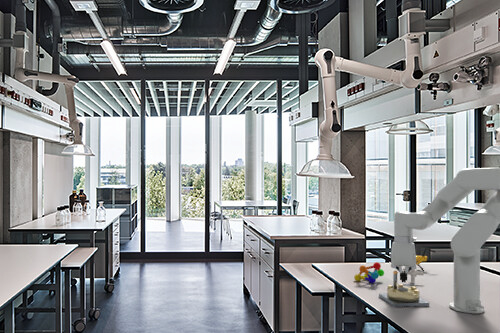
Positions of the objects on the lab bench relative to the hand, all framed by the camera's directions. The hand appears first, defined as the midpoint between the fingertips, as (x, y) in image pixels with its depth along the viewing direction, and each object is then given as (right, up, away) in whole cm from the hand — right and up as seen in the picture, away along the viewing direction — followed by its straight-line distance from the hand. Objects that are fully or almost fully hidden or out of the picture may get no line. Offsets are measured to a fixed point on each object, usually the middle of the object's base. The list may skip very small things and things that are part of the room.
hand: (403, 281), depth 186 cm
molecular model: (-6, -9, +29) cm, 31 cm away
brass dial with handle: (-2, -5, -4) cm, 7 cm away
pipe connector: (+15, -9, +29) cm, 34 cm away
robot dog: (+31, -10, +61) cm, 69 cm away
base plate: (-2, -7, -4) cm, 9 cm away
